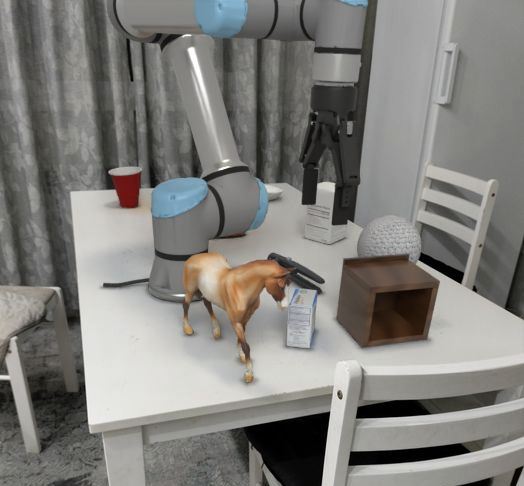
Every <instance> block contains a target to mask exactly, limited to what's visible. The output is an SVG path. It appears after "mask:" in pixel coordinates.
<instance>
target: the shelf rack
mask: <svg viewBox="0 0 524 486" xmlns="http://www.w3.org/2000/svg"><path fill="white" fill-rule="evenodd" d="M440 284H441V280H439V279H438V278H436V277H435V276H433V275H432V274H431V273H429V272H428V271H426V270H425V269H423V268H422V267H420V266H419V265H417V263H416V264H414V263H413V262H411V261H410V260H409V254H395V255H382V256H368V257H358V256H355V257H343V258H342V269H341V276H340V284H339V293H338V302H337V309H336V310H337V311H336V317H335V318H336V321H337V322H338V323H339V324H340V325H341V326H342V327H343V329H344V330H345V331H346V332H347V333H348V334H349V335H350V336H351V337H352V339H353V340H354V341H355V342H356V343H357V344H358V345H359V346H360V347H361V348H369V347H378V346H384V345H393V344H401V343H410V342H417V341H418V342H419V341H426V340H428V338H429V333H430V328H431V324H432V320H433V315H434V310H435V306H436V302H437V298H438V293H439V288H440Z"/></svg>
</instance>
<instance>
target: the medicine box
mask: <svg viewBox="0 0 524 486" xmlns="http://www.w3.org/2000/svg"><path fill="white" fill-rule="evenodd" d="M289 303H290V304H289V307H288V308H287V323H286V325H287V326H286V327H287V328H286V346H287V347H292V348H299V349H310V348H311V345H312V340H313V337H314V332H315V328H316V327H315V326H316V315H317V303H318V294H317V291H316V290H310V289H305V288H295V289H294V292H293V294H292V297H291V299H290V301H289Z"/></svg>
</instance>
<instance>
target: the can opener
mask: <svg viewBox="0 0 524 486" xmlns="http://www.w3.org/2000/svg"><path fill="white" fill-rule="evenodd" d="M266 260H272V261H277V263H278V264H279V265H280V266H282V267H283V268H296V269H295V270H294V271H292V272H291V273H289V275H290V277H291V281H293V282H294V283H296V284H298V286H300V287H302V288H303V289H310V290H316V291H317V295H319V294H322V293H323V290H322V289H321V287H320V286H318V285H324V284H326V281H325V279H324V278H323V277H322V276H320V275H319V274H317V273H316V272H314V271H313V270H311V269H309V268H308V267H307V266H305V265H302V264H301V263H299V262H297V261H295V260H293V258H292V257H290V256H287V257H286V256H284V255H282V254H279V253H276V252H271V253H269V254H268V255H267V258H266ZM304 277H306V278H304ZM308 279H309V280H308ZM310 280H311V281H310ZM312 281H313V282H315V283H317V284H318V285H316V284H315V283H313V282H312Z"/></svg>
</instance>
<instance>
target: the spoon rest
mask: <svg viewBox="0 0 524 486" xmlns="http://www.w3.org/2000/svg"><path fill="white" fill-rule="evenodd" d="M264 185H265V187H266V190H267V193H268V202H271V201H273V200H276V199H277V198H279V197H280V196H281V195H282V193H283V192H284V190H283V189H282V188H281V187H277V186H274V185H269V184H264Z"/></svg>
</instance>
